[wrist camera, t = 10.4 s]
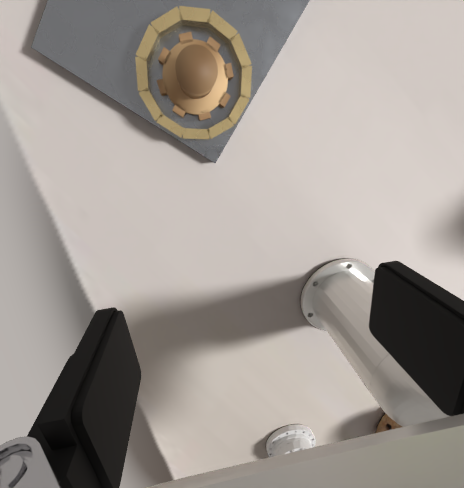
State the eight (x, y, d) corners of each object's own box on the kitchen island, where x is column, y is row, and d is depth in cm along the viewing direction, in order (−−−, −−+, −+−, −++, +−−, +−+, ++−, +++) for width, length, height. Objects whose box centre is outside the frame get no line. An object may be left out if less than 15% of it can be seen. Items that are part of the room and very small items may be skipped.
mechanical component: (256, 451, 55) (296, 459, 58) (261, 476, 51) (304, 483, 54) (281, 418, 53) (322, 428, 56) (289, 441, 49) (332, 451, 52)
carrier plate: (325, -31, 28) (343, -53, 25) (214, 162, 33) (216, 165, 30) (138, -225, 22) (130, -288, 18) (39, 51, 27) (18, 40, 24)
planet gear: (244, 69, 29) (256, 55, 24) (208, 134, 31) (212, 134, 25) (180, 18, 26) (178, -9, 21) (145, 92, 28) (135, 83, 23)
